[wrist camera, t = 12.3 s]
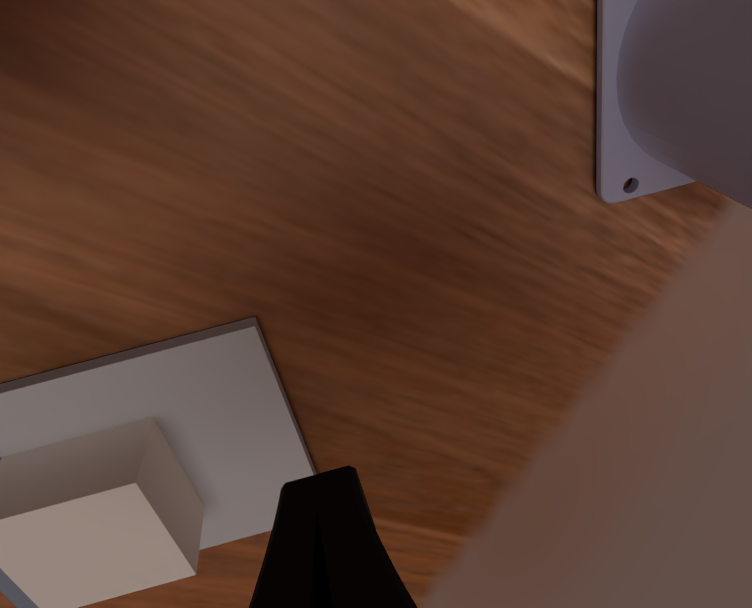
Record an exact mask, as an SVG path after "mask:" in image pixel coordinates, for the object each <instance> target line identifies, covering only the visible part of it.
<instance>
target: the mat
mask: <svg viewBox="0 0 752 608" xmlns="http://www.w3.org/2000/svg"><path fill="white" fill-rule="evenodd" d="M150 417H153V418H154V420H155V421H156V423H157V425H158V426H159V428H160V430H161V432H162V433H163V435H164V437H165V439H166V440H167V442H168V444H169V445H170V447H171V449H172V451H173V452H174V454H175V456H176V458H177V459H178V461H179V463H180V464H181V466H182V468H183V470H184V471H185V473H186V475H187V477H188V478H189V480H190V482H191V483H192V485H193V487H194V489H195V490H196V492H197V494H198V496H199V497H200V499H201V501H202V502H203V504H204V514H203V523H202V531H201V539H200V548H199V550H201V549H205V548H208V547H212V546H215V545H219V544H223V543H226V542H230V541H234V540H237V539H241V538H245V537H248V536H252V535H255V534H259V533H263V532H266V531H270V530H272V528H273V524H274V520H275V515H276V511H277V506H278V502H279V497H280V491H281V488H282V487H283V485H284V484H285V483H286V482H290V481H294V480H297V479H301V478H305V477H308V476H312V475H316V474H317V473H316V471H315V468H314V465H313V463H312V460H311V458H310V455H309V453H308V450H307V448H306V445H305V442H304V440H303V437H302V435H301V432H300V430H299V427H298V425H297V422H296V419H295V417H294V414H293V412H292V409H291V407H290V404H289V402H288V399H287V396H286V394H285V391H284V389H283V386H282V384H281V381H280V379H279V376H278V373H277V371H276V368H275V366H274V363H273V361H272V358H271V356H270V353H269V350H268V348H267V345H266V343H265V340H264V338H263V335H262V333H261V330H260V327H259V325H258V322H257V320H256V317H252V318H248V319H244V320H240V321H237V322H233V323H229V324H225V325H222V326H218V327H214V328H210V329H206V330H203V331H199V332H195V333H191V334H187V335H184V336H180V337H176V338H172V339H169V340H165V341H161V342H157V343H153V344H150V345H146V346H142V347H138V348H135V349H131V350H127V351H123V352H119V353H116V354H112V355H108V356H104V357H100V358H97V359H93V360H89V361H85V362H82V363H78V364H74V365H70V366H66V367H63V368H59V369H55V370H51V371H47V372H44V373H40V374H36V375H32V376H29V377H25V378H21V379H17V380H13V381H10V382H6V383H2V384H0V458H1V457H4V456H8V455H12V454H15V453H19V452H23V451H27V450H30V449H34V448H38V447H42V446H45V445H49V444H53V443H56V442H60V441H64V440H68V439H71V438H75V437H79V436H83V435H86V434H90V433H94V432H98V431H101V430H105V429H109V428H112V427H116V426H120V425H124V424H127V423H131V422H135V421H139V420H142V419H146V418H150Z"/></svg>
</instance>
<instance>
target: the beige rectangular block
mask: <svg viewBox="0 0 752 608" xmlns="http://www.w3.org/2000/svg"><path fill="white" fill-rule="evenodd" d="M203 514H204V504H203V502H202V501H201V499H200V497H199V496H198V494H197V492H196V490H195V489H194V487H193V485H192V483H191V482H190V480H189V478H188V477H187V475H186V473H185V471H184V470H183V468H182V466H181V464H180V463H179V461H178V459H177V458H176V456H175V454H174V452H173V451H172V449H171V447H170V445H169V444H168V442H167V440H166V439H165V437H164V435H163V433H162V432H161V430H160V428H159V426H158V425H157V423H156V421H155V420H154V418H153V417H150V418H146V419H142V420H139V421H135V422H131V423H127V424H124V425H120V426H116V427H112V428H109V429H105V430H101V431H98V432H94V433H90V434H86V435H83V436H79V437H75V438H71V439H68V440H64V441H60V442H56V443H53V444H49V445H45V446H42V447H38V448H34V449H30V450H27V451H23V452H19V453H15V454H12V455H8V456H4V457H1V458H0V591H1V592H2V593H3V594H4V595H5V596H6V597H7V598H8V599H9V600H10V601H11V602H12V603H13V604H14V605H15V606H16V607H17V608H77V607H81V606H85V605H88V604H92V603H95V602H99V601H103V600H106V599H110V598H114V597H117V596H121V595H124V594H128V593H132V592H135V591H139V590H142V589H146V588H150V587H153V586H157V585H161V584H164V583H168V582H171V581H175V580H179V579H182V578H186V577H189V576H193V575H196V573H197V564H198V556H199V548H200V539H201V531H202V523H203Z"/></svg>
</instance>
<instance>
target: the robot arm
mask: <svg viewBox="0 0 752 608" xmlns="http://www.w3.org/2000/svg"><path fill="white" fill-rule="evenodd" d="M630 178H632V182H631V184H630V185H629V187H627V188H625V189H623V186H624V183H625V182H626V181H627V180H628V179H630ZM697 181H698V182H700V183H702V184H704V185H706V186H708V187H710V188H712V189H714V190H716V191H718V192H720V193H722V194H724V195H726V196H727V197H729V198H731V199H733V200H735V201H737V202H739V203H741V204H743V205H745V206H747V207H749V208H751V209H752V0H597V141H596V191H597V195H598V196H599V197H600V199H602V200H603V201H605V202H607V203H617V202H621V201H625V200H629V199H633V198H636V197H640V196H644V195H648V194H652V193H655V192H659V191H663V190H667V189H671V188H674V187H678V186H682V185H686V184H690V183H693V182H697ZM249 608H417V606H416V604H415V603H414V601H413V599H412V598H411V596H410V594H409V593H408V591H407V589H406V588H405V586H404V584H403V582H402V580H401V579H400V577H399V575H398V573H397V571H396V570H395V568H394V566H393V564H392V562H391V560H390V558H389V556H388V554H387V552H386V550H385V548H384V546H383V544H382V542H381V540H380V538H379V536H378V534H377V532H376V528H375V525H374V522H373V519H372V516H371V513H370V510H369V507H368V504H367V501H366V498H365V495H364V492H363V489H362V486H361V483H360V480H359V477H358V474H357V471H356V468H353V467H351V466H345V467H341V468H338V469H334V470H330V471H327V472H323V473H319V474H316V475H312V476H308V477H305V478H301V479H297V480H294V481H290V482H286V483H285V484H284V485H283V487H282V488H281V491H280V497H279V502H278V506H277V511H276V515H275V520H274V524H273V528H272V532H271V536H270V539H269V543H268V547H267V550H266V554H265V557H264V561H263V564H262V567H261V571H260V574H259V577H258V580H257V583H256V587H255V590H254V593H253V596H252V600H251V603H250V606H249Z"/></svg>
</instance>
